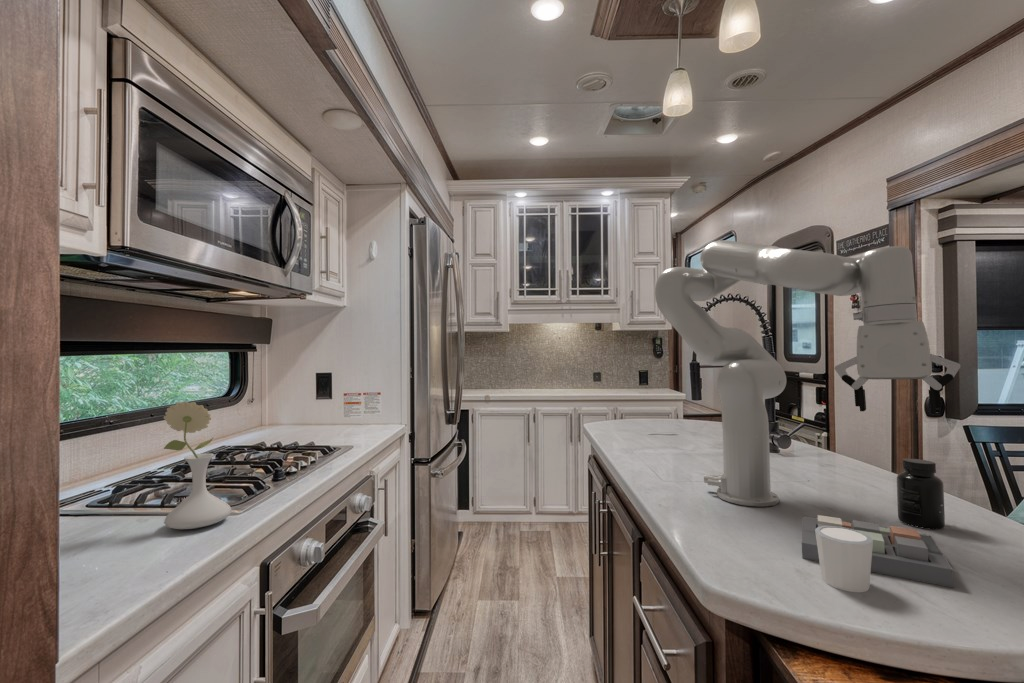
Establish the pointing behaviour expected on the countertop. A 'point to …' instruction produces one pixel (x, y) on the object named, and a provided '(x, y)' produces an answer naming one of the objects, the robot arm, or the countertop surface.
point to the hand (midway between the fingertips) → (896, 411)
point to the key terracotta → (903, 533)
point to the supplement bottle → (920, 495)
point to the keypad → (891, 554)
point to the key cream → (829, 521)
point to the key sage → (876, 542)
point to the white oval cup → (844, 557)
